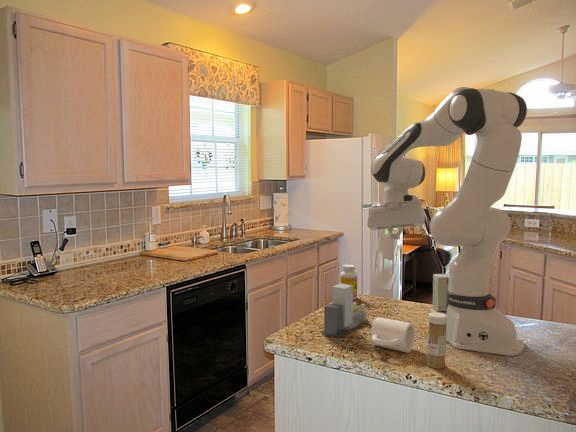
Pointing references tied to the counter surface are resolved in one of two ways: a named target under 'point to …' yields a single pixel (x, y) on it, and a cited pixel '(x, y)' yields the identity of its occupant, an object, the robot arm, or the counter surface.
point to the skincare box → (440, 291)
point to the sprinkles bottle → (437, 340)
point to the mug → (393, 334)
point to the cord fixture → (335, 320)
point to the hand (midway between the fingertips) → (395, 239)
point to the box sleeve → (344, 301)
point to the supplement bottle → (349, 278)
